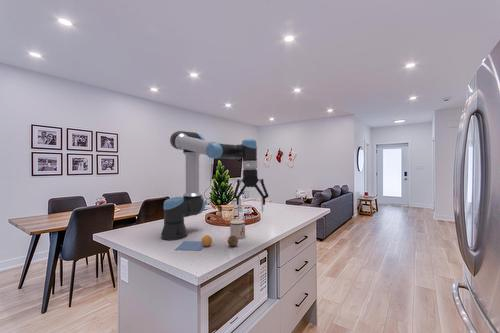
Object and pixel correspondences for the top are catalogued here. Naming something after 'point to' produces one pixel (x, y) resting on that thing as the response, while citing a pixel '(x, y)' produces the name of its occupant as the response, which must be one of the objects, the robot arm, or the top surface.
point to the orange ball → (206, 240)
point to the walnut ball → (232, 240)
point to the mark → (191, 245)
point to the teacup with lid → (237, 228)
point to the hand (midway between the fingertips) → (251, 211)
